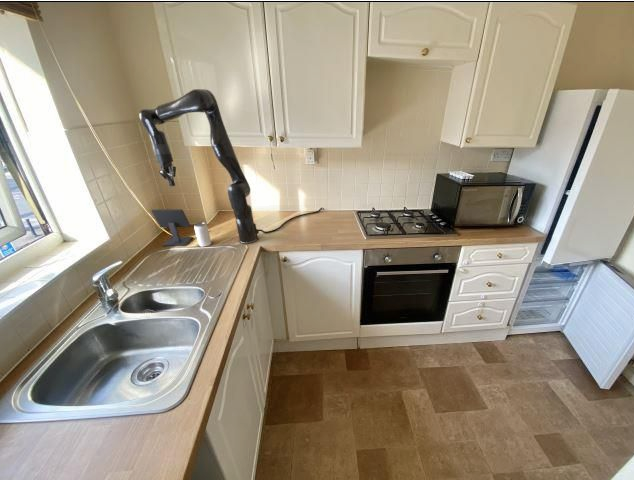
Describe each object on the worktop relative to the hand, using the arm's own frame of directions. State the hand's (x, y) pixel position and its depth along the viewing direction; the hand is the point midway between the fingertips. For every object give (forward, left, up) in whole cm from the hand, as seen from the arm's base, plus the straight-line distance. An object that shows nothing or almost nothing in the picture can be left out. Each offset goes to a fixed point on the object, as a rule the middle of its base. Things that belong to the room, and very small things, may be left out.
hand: (172, 186), depth 154 cm
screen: (+7, +7, -20) cm, 22 cm away
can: (-1, +22, -29) cm, 37 cm away
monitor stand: (+7, +7, -29) cm, 31 cm away
